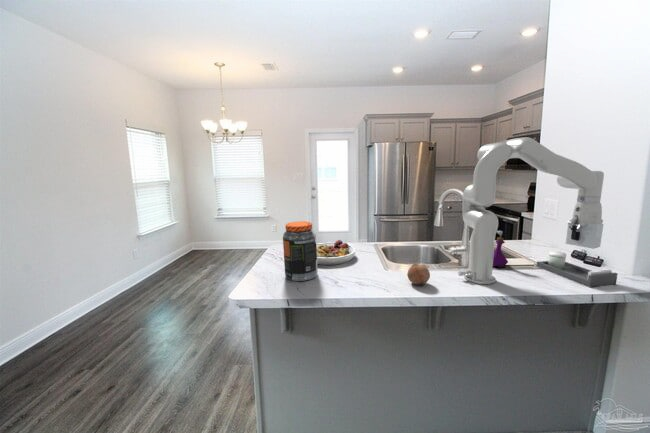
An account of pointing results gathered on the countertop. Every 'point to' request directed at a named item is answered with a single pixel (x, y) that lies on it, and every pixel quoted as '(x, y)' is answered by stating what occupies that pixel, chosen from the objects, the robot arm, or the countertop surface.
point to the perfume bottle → (499, 252)
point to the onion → (418, 274)
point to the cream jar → (557, 259)
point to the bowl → (334, 253)
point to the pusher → (599, 272)
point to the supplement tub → (300, 251)
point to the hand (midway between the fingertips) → (583, 239)
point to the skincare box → (587, 236)
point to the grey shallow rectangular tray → (581, 274)
